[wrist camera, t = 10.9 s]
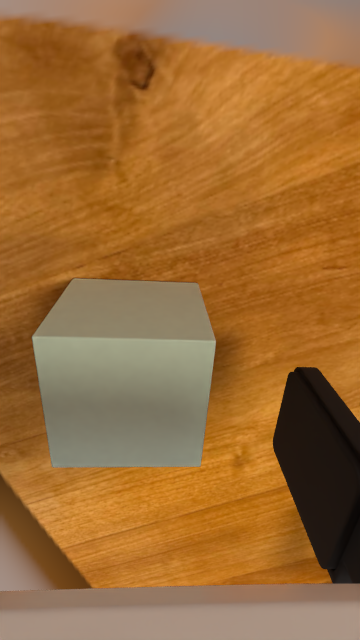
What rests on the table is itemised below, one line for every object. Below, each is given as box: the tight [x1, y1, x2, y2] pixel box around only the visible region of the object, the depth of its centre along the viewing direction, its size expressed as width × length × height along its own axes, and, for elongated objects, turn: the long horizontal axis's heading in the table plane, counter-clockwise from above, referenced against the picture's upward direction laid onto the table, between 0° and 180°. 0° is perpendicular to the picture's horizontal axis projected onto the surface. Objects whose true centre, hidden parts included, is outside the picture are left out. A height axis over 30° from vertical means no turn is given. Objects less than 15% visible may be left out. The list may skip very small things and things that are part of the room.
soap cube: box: [32, 278, 216, 467], centre depth 11 cm, size 4×4×4 cm
